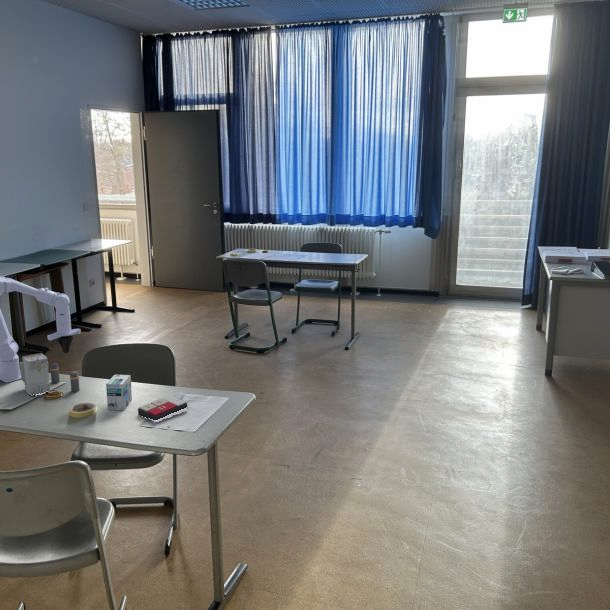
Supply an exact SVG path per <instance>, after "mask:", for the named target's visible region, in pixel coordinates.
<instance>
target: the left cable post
mask: <svg viewBox="0 0 610 610" xmlns="http://www.w3.org/2000/svg"><path fill="white" fill-rule="evenodd" d="M49 370H50V378H51V379H50V381H51V384H58V383H60V382H61V381H60V380H61V379H60V367H59V363H58V362H53V363H50V364H49Z"/></svg>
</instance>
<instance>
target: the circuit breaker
mask: <svg viewBox="0 0 610 610" xmlns="http://www.w3.org/2000/svg"><path fill="white" fill-rule="evenodd" d="M21 359H22V361H19V367H20V375H21V379H20V380H21V381H22V382H23V383H24V390H25V391H26V392H27V393H28V394H29V395H32V396H33V394H35V395H36V394H39V393H40V394H41V393H44V392H46V391H50V390H51V383H50V378H49V369H50V366H49V361H48V357H47V356H46V355H44V354H43V352H40V353H35V354H28V355H23V356H21ZM50 392H51V391H50ZM27 393H26V394H27ZM28 394H27V395H28ZM29 395H28V396H29Z"/></svg>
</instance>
